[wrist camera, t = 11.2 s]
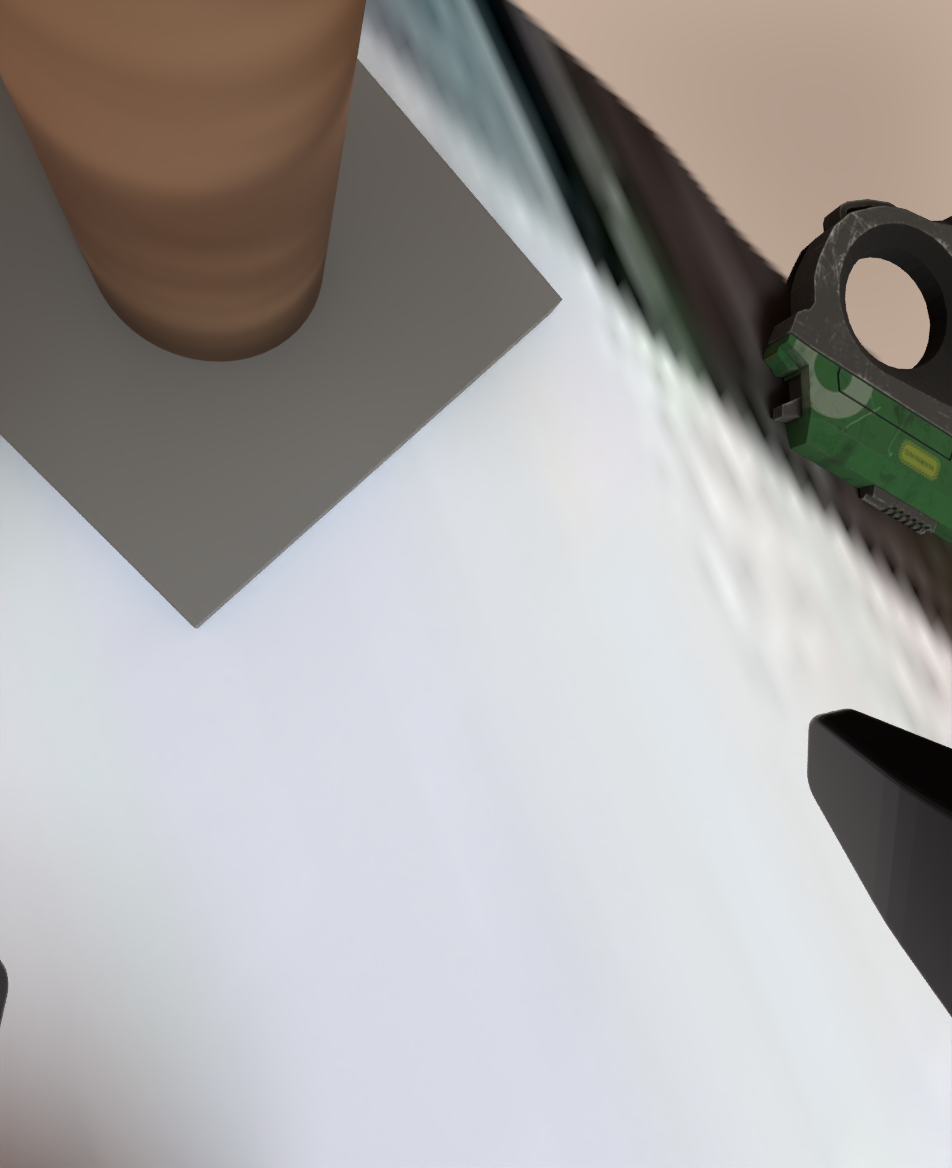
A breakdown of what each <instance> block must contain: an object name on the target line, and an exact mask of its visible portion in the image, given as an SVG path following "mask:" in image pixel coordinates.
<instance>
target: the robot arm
mask: <svg viewBox="0 0 952 1168" xmlns="http://www.w3.org/2000/svg"><path fill="white" fill-rule="evenodd" d="M807 777H808V783H809V786H810V789H811V792H812V794H813V796H814V798H815V800H816V802H817V804H818V805H819V807H820V809H821V811H822V812H823V814H824V816H825V818H826V820H827V821H828V823H829V825H830V827H831V828H832V830H833V832H834V834H835V835H836V837H837V839H838V841H839V843H840V844H841V846H842V848H843V850H844V851H845V853H846V855H847V857H848V858H849V860H850V862H851V864H852V866H853V867H854V869H855V871H856V873H857V874H858V876H859V878H860V880H861V881H862V883H863V885H864V887H865V889H866V890H867V892H868V894H869V896H870V897H871V899H872V901H873V903H874V904H875V906H876V908H877V909H878V911H879V913H880V914H881V916H882V918H883V919H884V921H885V923H886V924H887V926H888V927H889V929H890V930H891V932H892V933H893V935H894V936H895V938H896V939H897V940H898V942H899V943H900V945H901V946H902V948H903V949H904V951H905V952H906V953H907V955H908V956H909V958H910V959H911V960H912V962H913V963H914V965H915V966H916V968H917V969H918V970H919V972H920V973H921V975H922V976H923V977H924V979H925V980H926V982H927V983H928V985H929V986H930V987H931V989H932V990H933V992H934V993H935V994H936V996H937V997H938V999H939V1000H940V1001H941V1003H942V1004H943V1006H944V1007H945V1009H946V1010H947V1011H948V1013H949V1014H950V1016H951V1017H952V749H951V748H949V747H946V746H944V745H941V744H939V743H936V742H934V741H931V740H929V739H926V738H924V737H921V736H919V735H916V734H914V733H911V732H909V731H906V730H904V729H901V728H899V727H896V726H894V725H891V724H889V723H886V722H884V721H881V720H879V719H876V718H874V717H871V716H868V715H866V714H863V713H861V712H858V711H856V710H853V709H841V710H837V711H832V712H828V713H824V714H820V715H817V716H815V717H814V718H812V720H811V722H810V724H809V733H808V764H807ZM7 993H8V977H7V972H6V969H5V967H4V965H3V963H2V962H1V960H0V1025H1V1021H2V1016H3V1012H4V1007H5V1003H6V998H7Z"/></svg>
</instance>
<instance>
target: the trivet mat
mask: <svg viewBox="0 0 952 1168" xmlns="http://www.w3.org/2000/svg"><path fill="white" fill-rule="evenodd" d="M561 300H562V298H561V297H560V296H559V295H558V294H557V292H556V291H555V290H554V289H553V288H552V287H551V285H550V284H549V283H548V282H547V281H546V280H545V278H544V277H543V276H542V275H541V274H540V272H539V271H538V270H537V269H536V268H535V267H534V265H533V264H532V263H531V262H530V261H529V260H528V258H527V257H526V256H525V255H524V254H523V253H522V251H521V250H520V249H519V248H518V247H517V245H516V244H515V243H514V242H513V241H512V240H511V238H510V237H509V236H508V235H507V234H506V233H505V231H504V230H503V229H502V228H501V227H500V226H499V224H498V223H497V222H496V221H495V220H494V219H493V217H492V216H491V215H490V214H489V213H488V211H487V210H486V209H485V208H484V207H483V206H482V204H481V203H480V202H479V201H478V200H477V199H476V197H475V196H474V195H473V194H472V193H471V192H470V190H469V189H468V188H467V187H466V186H465V184H464V183H463V182H462V181H461V180H460V179H459V177H458V176H457V175H456V174H455V173H454V172H453V170H452V169H451V168H450V167H449V166H448V165H447V163H446V162H445V161H444V160H443V159H442V157H441V156H440V155H439V154H438V153H437V152H436V150H435V149H434V148H433V147H432V146H431V145H430V143H429V142H428V141H427V140H426V139H425V138H424V136H423V135H422V134H421V133H420V132H419V130H418V129H417V128H416V127H415V126H414V125H413V123H412V122H411V121H410V120H409V119H408V118H407V116H406V115H405V114H404V113H403V112H402V111H401V109H400V108H399V107H398V106H397V105H396V103H395V102H394V101H393V100H392V99H391V98H390V96H389V95H388V94H387V93H386V92H385V91H384V89H383V88H382V87H381V86H380V85H379V84H378V82H377V81H376V80H375V79H374V78H373V76H372V75H371V74H370V73H369V72H368V71H367V69H366V68H365V67H364V66H363V65H362V64H361V62H360V61H359V60H358V59H357V61H356V68H355V74H354V80H353V87H352V93H351V100H350V106H349V113H348V119H347V125H346V132H345V138H344V145H343V151H342V158H341V164H340V170H339V177H338V183H337V190H336V196H335V203H334V209H333V215H332V222H331V228H330V235H329V241H328V248H327V254H326V260H325V267H324V273H323V280H322V285H321V289H320V293H319V296H318V299H317V301H316V304H315V306H314V308H313V310H312V312H311V313H310V315H309V317H308V318H307V320H306V321H305V322H304V323H303V325H302V326H301V327H300V329H299V330H297V331H296V332H295V333H294V334H293V335H292V336H291V337H290V338H289V339H287V340H286V341H285V342H283V343H282V344H280V345H279V346H277V347H275V348H273V349H271V350H269V351H267V352H265V353H263V354H260V355H257V356H254V357H251V358H246V359H242V360H237V361H225V362H216V361H202V360H196V359H190V358H187V357H183V356H179V355H176V354H173V353H171V352H168V351H166V350H164V349H161V348H159V347H157V346H156V345H154V344H152V343H150V342H148V341H147V340H145V339H144V338H142V337H141V336H139V335H138V334H137V333H135V332H134V331H133V330H132V329H130V328H129V327H128V326H127V325H126V324H125V323H124V322H123V321H122V320H121V319H120V318H119V317H118V316H117V315H116V313H115V312H114V311H113V310H112V309H111V308H110V306H109V305H108V303H107V302H106V300H105V298H104V297H103V295H102V294H101V292H100V290H99V288H98V285H97V283H96V281H95V279H94V277H93V275H92V273H91V271H90V268H89V266H88V264H87V262H86V260H85V258H84V255H83V253H82V251H81V249H80V247H79V245H78V242H77V240H76V238H75V236H74V234H73V232H72V229H71V227H70V225H69V223H68V221H67V219H66V216H65V214H64V212H63V210H62V208H61V206H60V204H59V201H58V199H57V197H56V195H55V193H54V191H53V188H52V186H51V184H50V182H49V180H48V178H47V175H46V173H45V171H44V169H43V167H42V165H41V162H40V160H39V158H38V156H37V154H36V152H35V149H34V147H33V145H32V143H31V141H30V139H29V136H28V134H27V132H26V130H25V128H24V126H23V123H22V121H21V119H20V117H19V115H18V113H17V110H16V108H15V106H14V104H13V102H12V100H11V97H10V95H9V93H8V91H7V89H6V87H5V85H4V82H3V80H2V78H1V76H0V435H2V436H3V437H4V438H5V439H6V440H7V441H8V442H9V443H10V444H11V445H12V446H13V447H14V448H15V449H16V450H17V451H18V452H19V453H20V454H21V455H22V456H23V457H24V458H25V459H26V460H27V461H28V462H29V463H30V464H31V465H32V466H33V467H34V468H35V469H36V470H37V471H38V472H39V473H40V474H41V475H42V476H43V477H44V478H45V479H46V480H47V481H48V482H49V483H50V484H51V485H52V486H53V487H54V488H55V489H56V490H57V491H58V492H59V493H60V494H61V495H62V496H63V497H64V498H65V499H66V500H67V501H68V502H69V503H70V504H71V505H72V506H73V507H74V508H75V509H76V510H77V511H78V512H79V513H80V514H81V515H82V516H83V517H84V518H85V519H86V520H87V521H88V522H89V523H90V524H91V525H92V526H93V527H94V528H95V529H96V530H97V531H98V532H99V533H100V534H101V535H102V536H103V537H104V538H105V539H106V540H107V541H108V542H109V543H110V544H111V545H112V546H113V547H114V548H115V549H116V550H117V551H118V552H119V553H120V554H121V555H122V556H123V557H124V558H125V559H126V560H127V561H128V562H129V563H130V564H131V565H132V566H133V567H134V568H135V569H136V570H137V571H138V572H139V573H140V574H141V575H142V576H143V577H144V578H145V579H146V580H147V581H148V582H149V583H150V584H151V585H152V586H153V587H154V588H155V589H156V590H157V591H158V592H159V593H160V594H161V595H162V596H163V597H164V598H165V599H166V600H167V601H168V602H169V603H170V604H171V605H172V606H173V607H174V608H175V609H176V610H177V611H178V612H179V613H180V614H181V615H182V616H183V617H184V618H185V619H186V620H187V621H188V622H189V623H190V624H191V625H192V626H193V627H194V628H198V627H200V626H201V625H202V624H203V623H204V622H205V621H206V620H207V619H209V618H210V617H211V616H212V615H213V614H214V613H215V612H216V611H217V610H219V609H220V608H221V607H222V606H223V605H224V604H225V603H226V602H228V601H229V600H230V599H231V598H232V597H233V596H234V595H235V594H237V593H238V592H239V591H240V590H241V589H242V588H243V587H244V586H245V585H247V584H248V583H249V582H250V581H251V580H252V579H253V578H254V577H256V576H257V575H258V574H259V573H260V572H261V571H262V570H263V569H265V568H266V567H267V566H268V565H269V564H270V563H271V562H272V561H274V560H275V559H276V558H277V557H278V556H279V555H280V554H281V553H282V552H284V551H285V550H286V549H287V548H288V547H289V546H290V545H291V544H293V543H294V542H295V541H296V540H297V539H298V538H299V537H300V536H302V535H303V534H304V533H305V532H306V531H307V530H308V529H309V528H310V527H312V526H313V525H314V524H315V523H316V522H317V521H318V520H319V519H321V518H322V517H323V516H324V515H325V514H326V513H327V512H328V511H330V510H331V509H332V508H333V507H334V506H335V505H336V504H337V503H338V502H340V501H341V500H342V499H343V498H344V497H345V496H346V495H347V494H349V493H350V492H351V491H352V490H353V489H354V488H355V487H356V486H358V485H359V484H360V483H361V482H362V481H363V480H364V479H365V478H366V477H368V476H369V475H370V474H371V473H372V472H373V471H374V470H375V469H377V468H378V467H379V466H380V465H381V464H382V463H383V462H384V461H386V460H387V459H388V458H389V457H390V456H391V455H392V454H393V453H394V452H396V451H397V450H398V449H399V448H400V447H401V446H402V445H403V444H405V443H406V442H407V441H408V440H409V439H410V438H411V437H412V436H414V435H415V434H416V433H417V432H418V431H419V430H420V429H421V428H423V427H424V426H425V425H426V424H427V423H428V422H429V421H430V420H431V419H433V418H434V417H435V416H436V415H437V414H438V413H439V412H440V411H442V410H443V409H444V408H445V407H446V406H447V405H448V404H449V403H451V402H452V401H453V400H454V399H455V398H456V397H457V396H458V395H459V394H461V393H462V392H463V391H464V390H465V389H466V388H467V387H468V386H470V385H471V384H472V383H473V382H474V381H475V380H476V379H477V378H479V377H480V376H481V375H482V374H483V373H484V372H485V371H486V370H487V369H489V368H490V367H491V366H492V365H493V364H494V363H495V362H496V361H498V360H499V359H500V358H501V357H502V356H503V355H504V354H505V353H507V352H508V351H509V350H510V349H511V348H512V347H513V346H514V345H515V344H517V343H518V342H519V341H520V340H521V339H522V338H523V337H524V336H526V335H527V334H528V333H529V332H530V331H531V330H532V329H533V328H535V327H536V326H537V325H538V324H539V323H540V322H541V321H542V320H543V319H545V318H546V317H547V316H548V315H549V314H550V313H551V312H552V311H553V310H554V309H555V307H556V306H557V305H558V304H559V303H560V302H561Z"/></svg>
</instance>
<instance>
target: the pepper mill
mask: <svg viewBox="0 0 952 1168" xmlns="http://www.w3.org/2000/svg"><path fill="white" fill-rule="evenodd" d="M365 3H366V0H0V76H1V78H2V80H3V82H4V85H5V87H6V89H7V91H8V93H9V95H10V97H11V100H12V102H13V104H14V106H15V108H16V110H17V113H18V115H19V117H20V119H21V121H22V123H23V126H24V128H25V130H26V132H27V134H28V136H29V139H30V141H31V143H32V145H33V147H34V149H35V152H36V154H37V156H38V158H39V160H40V162H41V165H42V167H43V169H44V171H45V173H46V175H47V178H48V180H49V182H50V184H51V186H52V188H53V191H54V193H55V195H56V197H57V199H58V201H59V204H60V206H61V208H62V210H63V212H64V214H65V216H66V219H67V221H68V223H69V225H70V227H71V229H72V232H73V234H74V236H75V238H76V240H77V242H78V245H79V247H80V249H81V251H82V253H83V255H84V258H85V260H86V262H87V264H88V266H89V268H90V271H91V273H92V275H93V277H94V279H95V281H96V283H97V285H98V288H99V290H100V292H101V294H102V295H103V297H104V298H105V300H106V302H107V303H108V305H109V306H110V308H111V309H112V310H113V311H114V312H115V313H116V315H117V316H118V317H119V318H120V319H121V320H122V321H123V322H124V323H125V324H126V325H127V326H128V327H129V328H130V329H132V330H133V331H134V332H135V333H137V334H138V335H139V336H141V337H142V338H144V339H145V340H147V341H148V342H150V343H152V344H154V345H156V346H157V347H159V348H161V349H164V350H166V351H168V352H171V353H173V354H176V355H179V356H183V357H187V358H190V359H196V360H202V361H216V362H225V361H237V360H242V359H246V358H251V357H254V356H257V355H260V354H263V353H265V352H267V351H269V350H271V349H273V348H275V347H277V346H279V345H280V344H282V343H283V342H285V341H286V340H287V339H289V338H290V337H291V336H292V335H293V334H294V333H295V332H296V331H297V330H299V329H300V327H301V326H302V325H303V323H304V322H305V321H306V320H307V318H308V317H309V315H310V313H311V312H312V310H313V308H314V306H315V304H316V301H317V299H318V296H319V293H320V289H321V285H322V280H323V273H324V267H325V260H326V254H327V248H328V241H329V235H330V228H331V222H332V215H333V209H334V203H335V196H336V190H337V183H338V177H339V170H340V164H341V158H342V151H343V145H344V138H345V132H346V125H347V119H348V113H349V106H350V100H351V93H352V87H353V80H354V74H355V68H356V61H357V55H358V48H359V42H360V35H361V29H362V23H363V16H364V10H365Z"/></svg>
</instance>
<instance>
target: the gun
mask: <svg viewBox="0 0 952 1168" xmlns="http://www.w3.org/2000/svg"><path fill="white" fill-rule="evenodd" d="M823 230H824V232H823V233H822V234H821V235H820V236H818V237H817V238H815V239H814V240H813V241H812V242H811V243H810V244H809V245H808V246H806V247H805V248H804V249H803V250H802V251H801V252H800V254H799V256H798V259H797V260H796V262H795V264H794V266H793V268H792V271H791V273H790V275H789V277H788V279H789V280H790V281H791V282H792V283H793V285H792V289H791V317H789V318H787V319H786V320H784V321H783V322H781V323H780V324H778V325H776V326H775V327H774V329H773V332H772V334H771V337H770V340H769V342H768V346H769V347H767V348H766V350H765V353H764V355H763V361H764V362H765V363H766V364H767V365H768V366H769V367H770V368H771V370H772V372H773V373H774V375H775V377H781V378H784V381H786V382H789V396H790V402H788V403H786V404H783V405H781V406H779V407H777V408H775V409H773V420H774V421H780V422H785V423H787V424H786V427H787V432H788V437H789V443H790V448H791V449H792V450H794V451H795V452H797V453H799V454H801V455H802V456H804V457H806V458H807V459H809V460H811V461H812V462H814V463H816V464H817V465H819V466H821V467H822V468H824V469H826V470H828V471H829V472H831V473H833V474H834V475H836V476H838V477H839V478H841V479H843V480H844V481H846V482H848V483H849V484H851V485H853V486H855V487H856V488H858V489H860V492H861V499H862V500H863V501H865V502H867V503H868V504H870V505H872V506H874V507H875V508H877V509H879V510H883V511H884V513H885V514H889V515H890V517H892V518H896V519H897V521H899V522H901V521H902V522H903V524H904V525H909V527H910V528H911V529H915V530H916V532H918V533H919V534H923V533H925V532H926V531H930V532H932V533H934V534H936V535H937V536H939V537H941V538H942V539H944V540H946V541H947V542H949V543H951V544H952V216H951V217H949V218H947V219H945V220H943V221H930V220H928V219H926V218H923V217H921V216H919V215H917V214H915V213H913V212H910V211H908V210H906V209H902V208H897V207H896V206H894V205H893V204H891V203H889V202H883V201H876V200H870V199H866V200H856V201H848V202H846V203H844V204H842V205H840V206H839V207H838V208H836V209H835V210H834V211H833V212H831V213H830V214H829V215H827V216H826V217H825V218H824V222H823ZM869 257H872V258H881V259H884V260H887V261H890V262H892V263H894V264H895V265H897V266H899V267H900V268H901V269H903V270H904V271H905V272H906V273H907V274H908V275H909V276H910V277H911V278H912V279H913V280H914V282H915V283H916V284H917V286H918V288H919V289H920V291H921V293H922V295H923V297H924V299H925V302H926V305H927V310H928V314H929V319H930V332H929V341H928V344H927V347H926V351H925V353H924V355H923V357H922V358H921V360H920V361H919V362H918V364H917V365H916V366H914V367H913V368H912V369H897V368H894V367H890V366H888V365H886V364H884V363H882V362H880V361H878V360H877V359H876V358H874V357H873V356H872V355H871V354H869V353H868V351H867V350H866V349H865V348H864V347H863V346H862V345H861V343H860V342H859V340H858V339H857V337H856V336H855V334H854V332H853V330H852V327H851V325H850V323H849V319H848V315H847V312H846V304H845V291H846V283H847V280H848V276H849V274H850V272H851V270H852V268H853V266H854V264H855V263H856V262H857V261H858V260H859V259H862V258H869Z"/></svg>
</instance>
